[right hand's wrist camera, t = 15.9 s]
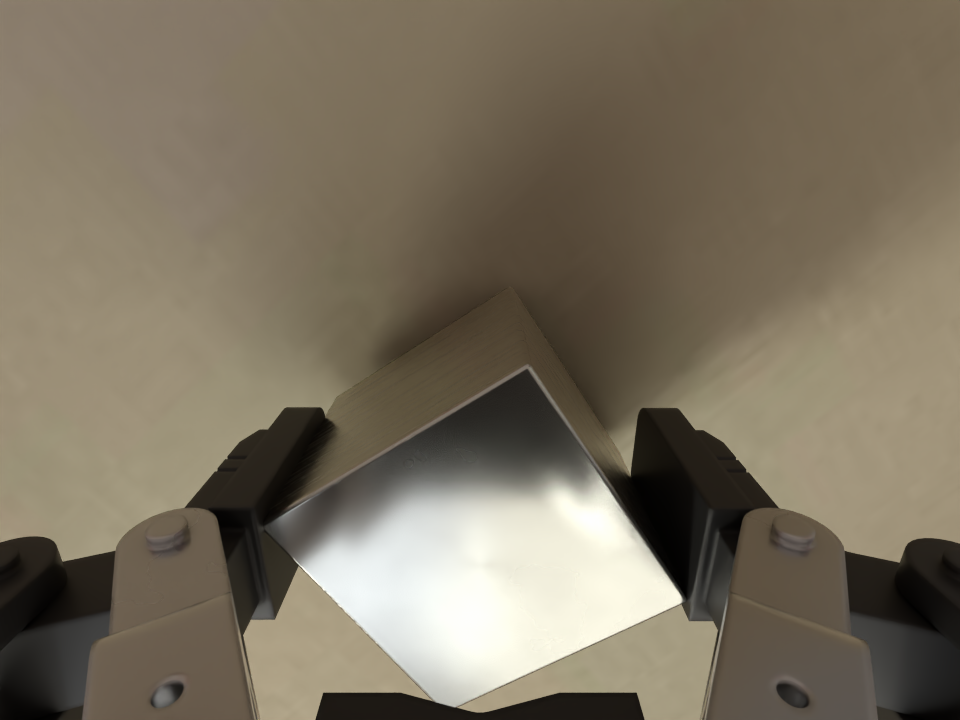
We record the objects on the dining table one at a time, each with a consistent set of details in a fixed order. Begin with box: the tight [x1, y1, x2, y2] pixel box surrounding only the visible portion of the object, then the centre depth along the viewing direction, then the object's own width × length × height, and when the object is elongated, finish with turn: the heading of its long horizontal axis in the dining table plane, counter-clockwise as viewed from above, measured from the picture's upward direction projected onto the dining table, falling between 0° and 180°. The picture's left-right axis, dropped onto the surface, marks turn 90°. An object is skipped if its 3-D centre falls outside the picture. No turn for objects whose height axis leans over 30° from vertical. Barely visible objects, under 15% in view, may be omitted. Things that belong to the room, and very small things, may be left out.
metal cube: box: [263, 287, 687, 708], centre depth 11 cm, size 5×5×5 cm
